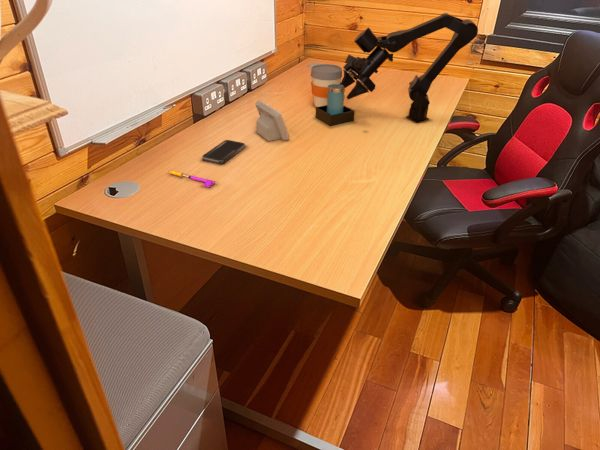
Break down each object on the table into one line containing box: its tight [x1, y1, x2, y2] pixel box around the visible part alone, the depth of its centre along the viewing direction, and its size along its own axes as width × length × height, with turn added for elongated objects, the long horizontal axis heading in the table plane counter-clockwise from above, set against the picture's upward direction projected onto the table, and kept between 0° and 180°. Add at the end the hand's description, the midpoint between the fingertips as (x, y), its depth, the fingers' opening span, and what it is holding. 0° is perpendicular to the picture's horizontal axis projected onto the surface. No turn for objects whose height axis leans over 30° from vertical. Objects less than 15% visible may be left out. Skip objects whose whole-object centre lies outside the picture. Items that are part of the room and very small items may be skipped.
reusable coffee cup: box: [310, 63, 343, 108], centre depth 188 cm, size 13×13×15 cm
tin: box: [327, 84, 346, 115], centre depth 174 cm, size 6×6×12 cm
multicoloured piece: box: [169, 170, 216, 189], centre depth 137 cm, size 3×1×16 cm
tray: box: [315, 105, 356, 127], centre depth 177 cm, size 11×10×4 cm
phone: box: [202, 139, 246, 165], centre depth 152 cm, size 8×1×15 cm
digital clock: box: [255, 100, 290, 142], centre depth 163 cm, size 16×9×11 cm, turn 20°
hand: (342, 94), depth 173 cm, fingers open, 9 cm apart
